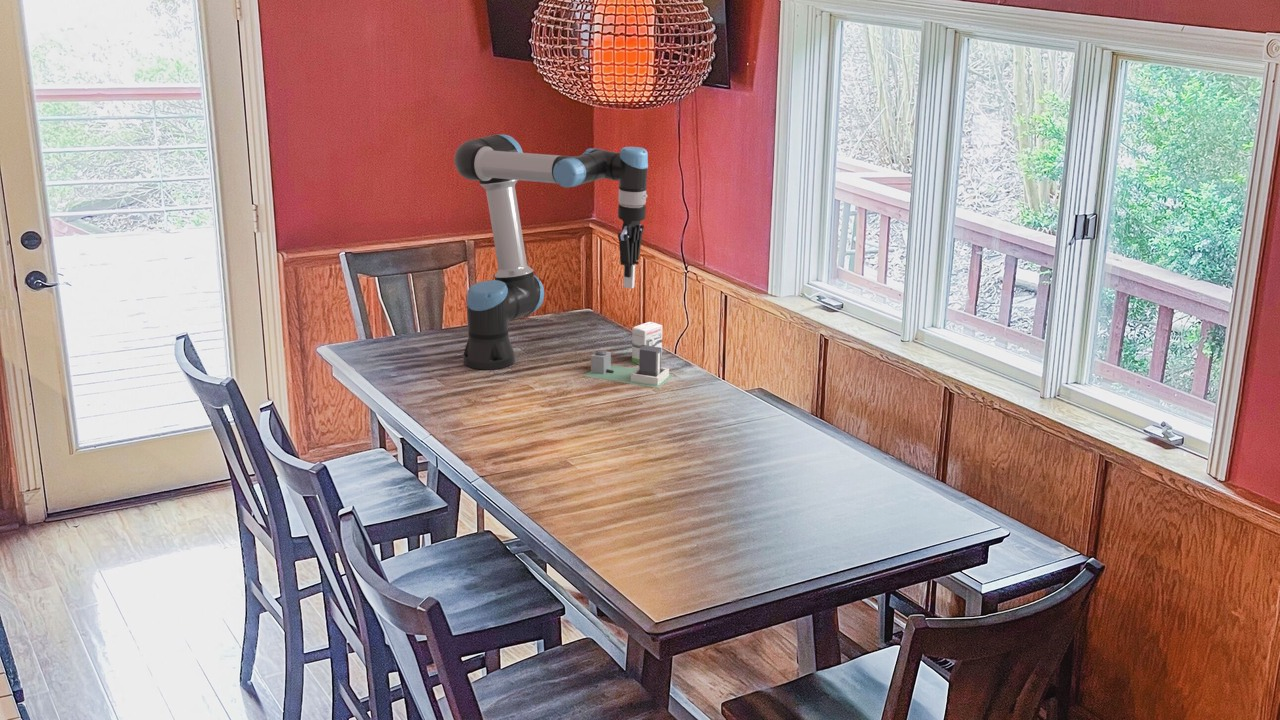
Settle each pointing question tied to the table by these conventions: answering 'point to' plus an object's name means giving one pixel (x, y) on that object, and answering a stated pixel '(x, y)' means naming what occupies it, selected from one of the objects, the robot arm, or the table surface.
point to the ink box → (645, 338)
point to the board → (622, 376)
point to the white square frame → (650, 377)
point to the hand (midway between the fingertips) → (628, 287)
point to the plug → (650, 361)
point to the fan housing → (601, 362)
